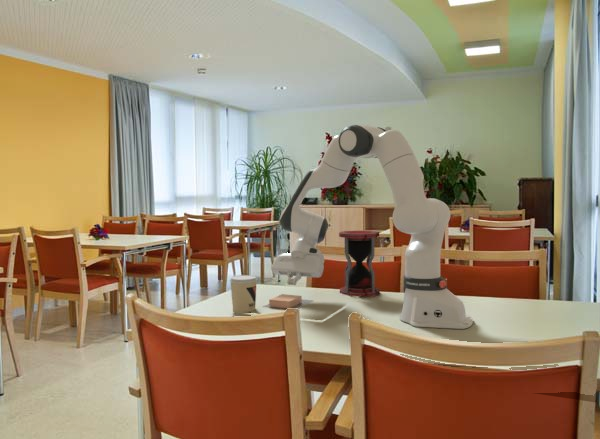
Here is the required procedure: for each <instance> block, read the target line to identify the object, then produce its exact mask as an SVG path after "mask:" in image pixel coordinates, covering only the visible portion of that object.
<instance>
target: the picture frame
mask: <svg viewBox="0 0 600 439" xmlns="http://www.w3.org/2000/svg"><path fill="white" fill-rule="evenodd" d="M302 298H303V297H302V295H297V294H296V295H295V294H284V293H283V294H279V295H276V296H274V297H272V298H270V299H269V302H268V304H269V307H279V308H292V307H294V306H296V305H298V304H300V303H302Z"/></svg>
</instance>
